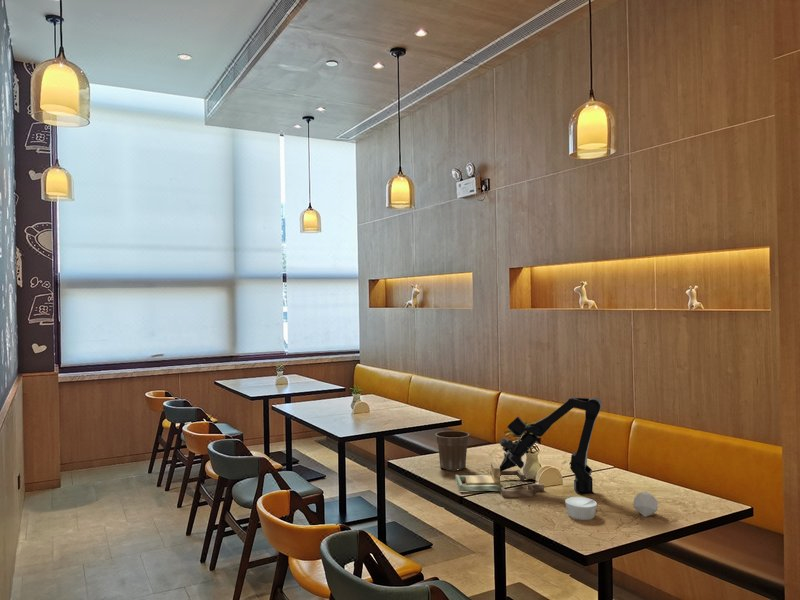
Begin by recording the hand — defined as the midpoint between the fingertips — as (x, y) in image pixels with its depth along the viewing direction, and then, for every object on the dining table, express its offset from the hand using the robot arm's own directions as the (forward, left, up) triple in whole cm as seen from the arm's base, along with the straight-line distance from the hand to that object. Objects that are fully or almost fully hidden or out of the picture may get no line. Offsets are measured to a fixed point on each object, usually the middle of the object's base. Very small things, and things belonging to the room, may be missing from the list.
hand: (499, 470), depth 257 cm
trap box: (0, 0, -7) cm, 7 cm away
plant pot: (+17, -30, -7) cm, 35 cm away
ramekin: (-23, +37, -7) cm, 44 cm away
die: (-47, +37, -7) cm, 60 cm away
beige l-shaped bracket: (+7, -1, -7) cm, 10 cm away
